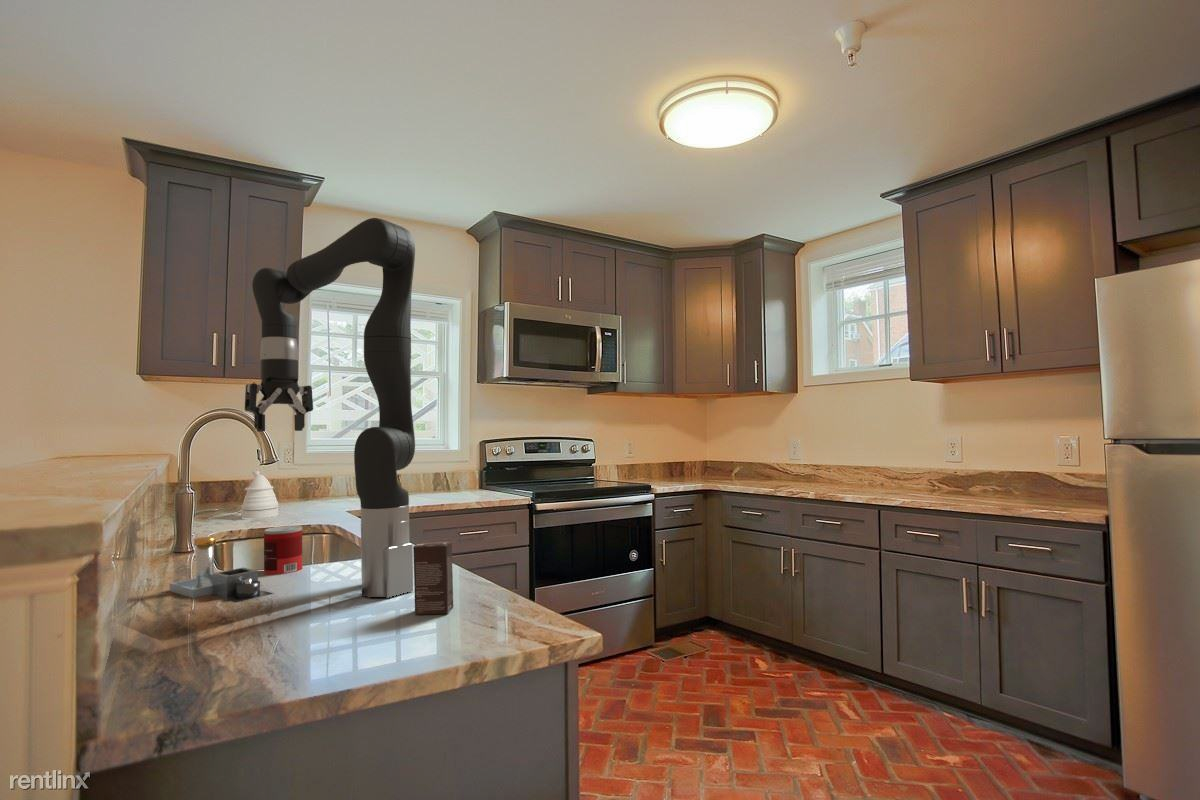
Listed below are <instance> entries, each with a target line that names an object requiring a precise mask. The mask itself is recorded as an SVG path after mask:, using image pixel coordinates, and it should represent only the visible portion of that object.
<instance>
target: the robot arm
mask: <svg viewBox="0 0 1200 800" xmlns="http://www.w3.org/2000/svg"><path fill="white" fill-rule="evenodd" d="M415 261H416V244H415V239H414V235H412V233H411V232H410V230H409V229H407V228H405V227H403V226H401V225H398V224H396V223H393V222H391V221H388V220H386V219H382V218H378V217H372V218H368V219H365V220H363V221H361V222H359V223H358V224H356V225H355V226H354V227H352V228H351V229H350V230H348V231H347V232H345V233H344V234H343V235H341V236H340V237H338V238H336V240H334V241H333V242H332V243H330V244H329V245H327V246H326V247H324V248H322V249H321V250H318V251H317V252H314V253H312V254H309V255H307V256H305V257H302V258H299V259H298V260H296V261H294V262H291V264H289V266H288V268H287V270H286V271H283V270H279V269H275V268H269V267H263V268H261V269H259V270H258V271H257V272H256V273H255V274H254V277H253V279H252V292H253V296H254V300H255V302H256V306H257V309H258V313H259V316H260V319H261V342H260V343H261V344H260V353H259V356H260V380H261V381H260V384H258V383H255V382H254V383H247V384H246V385H245V394H244V395H245V397H244V411H245V412H249V413H252V414H253V416H254V417H253V418H254V422H253V423H254V424H253V425H254V430H256V431H257V433H259V432H265V431H266V414H265V412H267V409H268V408H269V407H271V405H277V404H278V405H288V407H290V408H291V409H292V411H293V412H294V413H295V414H294V415H293V417H294V420H293V421H294V431H295V432H300V431H301V432H302V431H303V430H304V428H305V426H306V425H305V424H306V423H305V422H306V421H305V419H306V416H305V415H306V413H309V412H312V411H314V401H313V387H312V386H311V385H303V386H301V385H299V382H298V380H299V346H298V339H297V338H298V337H297V336H298V331H297V318H296V316H295V315H294V314H293V313H290V312H288V311H286V310H285V309H284V308H283V306H282V304H286V305H291V304H297V303H299V302H302V301H303V300H305V298H307V297H308V296H309V295H310V294H311V293H312V292H314V291H316V290H318V289H321V288H323V287H325V286H328V285H330V284H332V283H334V282H335V281H337V279H339V278H340V276H341V274H342V272H343V271H344V269H345V268H346V267H349V266H351V265H354V264H355V265H356V264H359V263H360V264H361V263H369V264H371V265H375V266H377V267H381V268H382V289H381V295H380V298H379V300H378V302H377V303H376V305H375V307H374V309H373V311H372V312H371V314H370V316H369V317H368V320H367V322H366V323H365V326H364V331H363V362H364V366H365V370H366V373H367V375H368V378H369V381H370V382H371V385H372V387H373V390H374V392H375V395H376V397H377V401H378V402H377V403H378V410H379V414H378V415H379V417H378V418H379V420H378V421H379V422H378V423H379V424H378V426H371V427H368V428H366V429H364V430H362V431H361V433H359V435H358V437H357V439H356V441H355V445H354V448H353V449H354V451H353V458H354V459H353V460H354V461H353V462H354V475H355V476H354V479H355V489H356V493H357V495H358V498H359V500H360V551H361V552H360V555H361V556H360V558H361V562H360V563H361V596H363V595H364V596H363V597H365V596H368V597H367V598H370V597H386V598H385V599H389V597H390V598H393V597H392V596H394V597H397V596H401V595H404V594H407V592H408V593H412V592H414V554H413V547H414V545H413V544H412V543H411V542H410V507H409V506H410V499H409V497H410V494H409V492H408V490H407V489H405V488H403V487H402V486H401V485H400V483H399V482H398V474H397V472H398V471H400V470H404V469H405V468H407V467H408V466H409V465H410V464H411V462H412V461H413V459H414V455H415V452H416V451H415V450H416V440H415V439H416V437H415V427H414V419H413V411H412V376H411V375H412V374H411V373H412V372H411V369H412V368H411V366H412V365H411V364H412V363H411V362H412V333H411V331H412V330H411V328H412V327H411V320H412V319H411V318H412V290H413V280H414V279H413V278H414V270H415V263H416V262H415ZM260 392H261V394H262V397H261V398H260V400H259V401H258V402H257V396H258V394H259V393H260ZM298 393H299V395H300V396H301V400H300V399H299V397H298V396H297V395H298ZM403 593H404V594H403ZM400 594H401V595H400ZM396 595H397V596H396Z"/></svg>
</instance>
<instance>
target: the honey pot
mask: <svg viewBox="0 0 1200 800" xmlns="http://www.w3.org/2000/svg"><path fill="white" fill-rule="evenodd" d="M251 473H252V475H253V476H254V478H253V479H252V481H251V482H250V484H249V486H248V487H245V488H244V490H245V491H246V494H245V495H244V499H243V501H242V502H243V503H241V507H240V508H241V517H243V518H262V517H271V516H277V515H280V514H279V509H280V508H279V502H278V500H277V497H276V493H275V492H274V486H273V485H271V483H270V481H269V480H268V479H267V478H266V476H265V475H263V474H260V471H258V470H257V471H252V472H251ZM277 517H278V516H277Z"/></svg>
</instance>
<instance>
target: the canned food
mask: <svg viewBox="0 0 1200 800" xmlns="http://www.w3.org/2000/svg"><path fill="white" fill-rule="evenodd" d="M263 531H264V532H263V570H264V571H263V572H264V574H265V575H270V576H272V575H274V576H275V575H276V576H278V575H286V574H291V573H296V572H299V571H302V570H303V527H302V526H301V525H282V526H275V527H274V526H273V527H270V528H269V527H268V528H266V529H264V530H263Z"/></svg>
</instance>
